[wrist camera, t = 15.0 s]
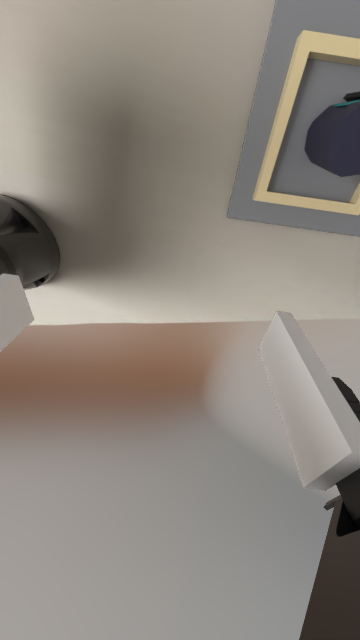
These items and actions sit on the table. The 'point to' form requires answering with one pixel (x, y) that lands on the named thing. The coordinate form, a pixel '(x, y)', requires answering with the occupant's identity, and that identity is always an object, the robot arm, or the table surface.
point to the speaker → (336, 138)
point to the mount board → (300, 119)
